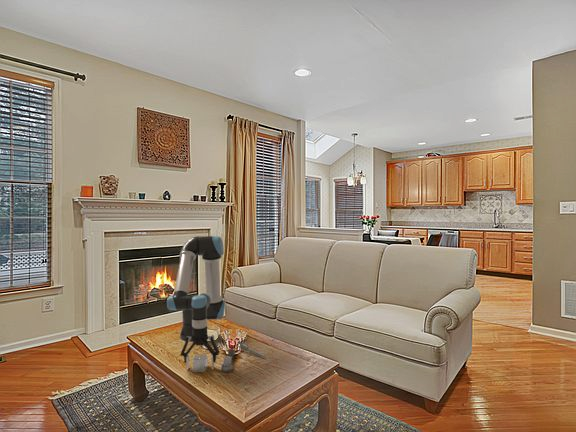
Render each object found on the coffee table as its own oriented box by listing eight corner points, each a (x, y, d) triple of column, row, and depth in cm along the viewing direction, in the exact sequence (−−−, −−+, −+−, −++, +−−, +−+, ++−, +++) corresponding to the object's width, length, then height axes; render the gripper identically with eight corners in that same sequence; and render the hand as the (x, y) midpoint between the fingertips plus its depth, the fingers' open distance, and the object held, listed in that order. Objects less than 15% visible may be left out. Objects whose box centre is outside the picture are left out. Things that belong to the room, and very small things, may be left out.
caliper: (237, 351, 196) (236, 340, 195) (238, 350, 197) (238, 339, 196) (265, 359, 185) (265, 348, 185) (267, 358, 186) (267, 347, 185)
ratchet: (232, 372, 170) (231, 359, 170) (220, 372, 170) (220, 360, 170) (237, 353, 192) (237, 342, 192) (227, 353, 192) (227, 342, 192)
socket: (195, 366, 177) (195, 354, 177) (207, 365, 178) (207, 354, 177) (193, 371, 171) (192, 359, 171) (205, 371, 172) (204, 359, 171)
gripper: (173, 329, 170) (174, 372, 170) (222, 328, 170) (223, 371, 171) (177, 324, 177) (178, 365, 178) (224, 323, 178) (225, 364, 178)
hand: (200, 368), depth 174 cm, fingers open, 12 cm apart
